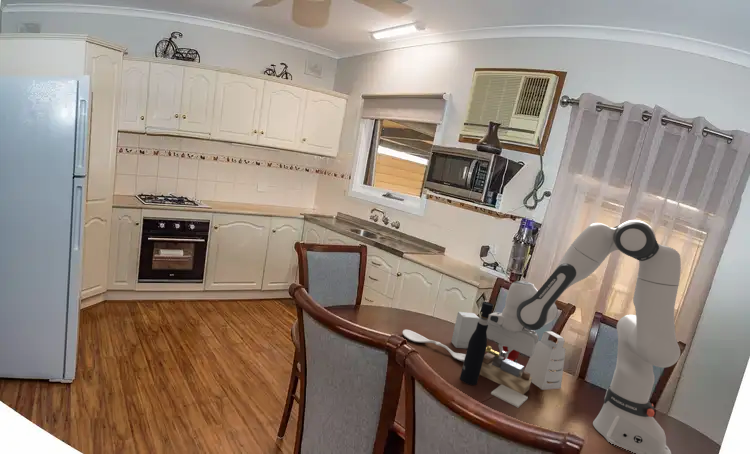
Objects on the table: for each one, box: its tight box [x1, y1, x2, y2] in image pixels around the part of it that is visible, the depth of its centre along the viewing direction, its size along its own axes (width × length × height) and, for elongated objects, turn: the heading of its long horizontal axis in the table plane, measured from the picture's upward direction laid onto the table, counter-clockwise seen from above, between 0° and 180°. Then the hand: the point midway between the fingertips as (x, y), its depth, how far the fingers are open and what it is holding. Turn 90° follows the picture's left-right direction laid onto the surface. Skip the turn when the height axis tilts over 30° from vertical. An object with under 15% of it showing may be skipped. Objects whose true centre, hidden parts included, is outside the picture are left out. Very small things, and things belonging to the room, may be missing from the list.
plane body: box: [479, 352, 532, 395], centre depth 164 cm, size 18×7×8 cm, turn 52°
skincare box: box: [450, 311, 480, 350], centre depth 190 cm, size 8×6×15 cm
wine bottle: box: [459, 301, 494, 386], centre depth 158 cm, size 6×6×30 cm
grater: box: [523, 330, 567, 391], centre depth 170 cm, size 10×10×20 cm
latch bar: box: [485, 345, 500, 357], centre depth 167 cm, size 6×2×2 cm, turn 52°
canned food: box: [497, 346, 520, 363], centre depth 180 cm, size 8×8×11 cm
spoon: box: [401, 329, 466, 363], centre depth 182 cm, size 9×32×4 cm, turn 57°
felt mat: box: [490, 384, 529, 408], centre depth 154 cm, size 10×10×1 cm
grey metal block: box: [500, 358, 525, 377], centre depth 163 cm, size 7×4×3 cm, turn 52°
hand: (503, 356), depth 165 cm, fingers closed
